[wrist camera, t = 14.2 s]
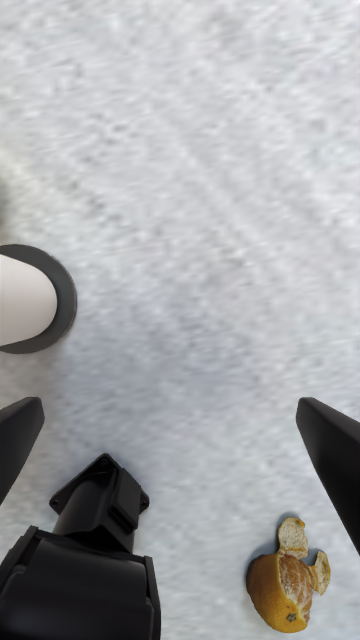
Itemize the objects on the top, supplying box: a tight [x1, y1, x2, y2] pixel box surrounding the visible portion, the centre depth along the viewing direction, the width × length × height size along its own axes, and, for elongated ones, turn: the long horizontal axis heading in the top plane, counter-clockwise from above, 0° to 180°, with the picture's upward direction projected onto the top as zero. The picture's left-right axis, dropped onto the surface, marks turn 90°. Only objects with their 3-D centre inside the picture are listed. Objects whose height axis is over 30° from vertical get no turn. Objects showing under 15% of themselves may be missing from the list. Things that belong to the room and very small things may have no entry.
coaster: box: [0, 244, 77, 354], centre depth 20 cm, size 9×9×1 cm
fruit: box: [246, 517, 330, 633], centre depth 22 cm, size 8×8×4 cm
